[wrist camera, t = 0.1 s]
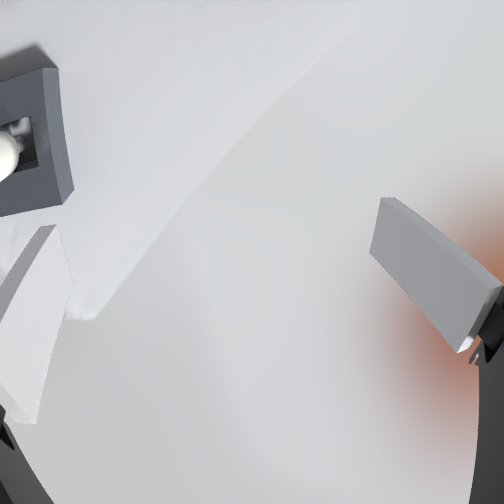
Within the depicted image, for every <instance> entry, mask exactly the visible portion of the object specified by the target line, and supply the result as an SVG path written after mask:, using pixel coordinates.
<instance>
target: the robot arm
mask: <svg viewBox="0 0 504 504" xmlns="http://www.w3.org/2000/svg"><path fill="white" fill-rule="evenodd" d="M370 254H371V255H372V256H373V257H374V258H375V259H376V260H377V261H378V262H379V263H380V264H381V265H382V267H383V268H384V269H385V270H386V271H387V272H388V273H389V274H390V275H391V276H392V277H393V279H394V280H395V281H396V282H397V283H398V284H399V285H400V286H401V287H402V289H403V290H404V291H405V292H406V293H407V294H408V296H409V297H410V298H411V299H412V300H413V301H414V302H415V304H416V305H417V306H418V307H419V308H420V309H421V311H423V313H424V314H425V315H426V316H427V318H428V319H429V320H430V321H431V322H432V324H433V325H434V326H435V327H436V329H437V330H438V331H439V332H440V333H441V335H442V336H443V337H444V338H445V340H446V341H447V342H448V343H449V345H450V346H451V347H452V348H453V350H454V351H455V352H456V353H458V352H461V351H463V350H465V349H467V348H470V346H471V345H472V343H473V341H474V339H475V338H476V336H477V334H478V335H479V337H480V338H481V339H482V340H481V341H480V343H479V345H478V347H477V348H476V350H475V351H474V353H473V354H472V356H471V357H470V359H469V364H470V363H472V362H473V360H474V358H475V357H478V359H477V361H476V362H475V365H478V366H479V425H478V440H477V451H476V461H475V469H474V476H473V483H472V488H471V494H470V500H469V504H504V286H503V284H502V283H501V282H500V281H499V280H498V279H496V278H495V277H494V276H493V275H492V274H491V273H490V272H489V271H488V270H486V269H485V268H484V267H483V266H482V265H481V264H480V263H479V262H477V261H476V260H475V259H474V258H473V257H472V256H470V255H469V254H468V253H467V252H466V251H464V250H463V249H462V248H461V247H459V246H458V245H457V244H456V243H454V242H453V241H452V240H451V239H450V238H448V237H447V236H446V235H445V234H443V233H442V232H441V231H439V230H438V229H437V228H435V227H434V226H433V225H432V224H430V223H429V222H428V221H426V220H425V219H424V218H422V217H421V216H420V215H418V214H417V213H416V212H414V211H413V210H411V209H410V208H409V207H407V206H406V205H404V204H403V203H402V202H400V201H399V200H397V199H396V198H381V200H380V206H379V211H378V216H377V221H376V226H375V231H374V235H373V240H372V244H371V248H370ZM73 287H74V281H73V278H72V275H71V272H70V269H69V266H68V262H67V259H66V256H65V253H64V249H63V246H62V242H61V239H60V235H59V232H58V228H57V224H56V225H49V226H42V227H40V228H39V229H38V230H37V232H36V233H35V235H34V236H33V237H32V239H31V240H30V242H29V243H28V245H27V246H26V247H25V249H24V250H23V252H22V253H21V255H20V256H19V258H18V259H17V261H16V262H15V264H14V266H13V267H12V269H11V270H10V272H9V273H8V275H7V277H6V278H5V280H4V282H3V283H2V285H1V287H0V504H54V503H53V501H52V500H51V498H50V497H49V496H48V494H47V493H46V491H45V490H44V488H43V487H42V485H41V483H40V482H39V480H38V479H37V477H36V476H35V474H34V472H33V471H32V469H31V467H30V466H29V464H28V462H27V461H26V459H25V457H24V455H23V453H22V451H21V450H20V448H19V446H18V444H17V442H16V440H15V438H14V436H13V434H12V433H11V430H10V428H9V427H8V425H7V424H6V423H5V422H4V416H5V412H7V413H8V414H9V415H10V416H11V417H12V419H13V420H15V422H18V423H26V424H36V423H37V417H38V412H39V406H40V402H41V397H42V393H43V388H44V384H45V380H46V375H47V371H48V367H49V363H50V359H51V356H52V352H53V348H54V345H55V342H56V338H57V335H58V332H59V328H60V325H61V322H62V319H63V316H64V313H65V310H66V307H67V304H68V301H69V298H70V295H71V292H72V290H73Z"/></svg>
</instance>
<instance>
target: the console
mask: <svg viewBox="0 0 504 504" xmlns="http://www.w3.org/2000/svg"><path fill="white" fill-rule="evenodd" d="M28 116H31V122H32V129H33V136H34V142H35V148H36V154H37V160H33V161H29V162H25V163H22V164H18V165H17V166H16V168H15V170H14V171H13V172H12V173H11V174H10V175H9V176H7V177H6V178H5V179H3V180H2V181H1V182H0V217H3V216H8V215H12V214H17V213H21V212H26V211H31V210H36V209H41V208H46V207H51V206H57V205H62V204H63V203H64V202H65V201H66V199H67V198H68V197H69V195H70V194H71V193H72V192H73V190H74V186H73V181H72V176H71V171H70V165H69V159H68V154H67V147H66V141H65V134H64V126H63V118H62V110H61V100H60V88H59V73H58V68H40V69H37V70H34V71H31V72H28V73H25V74H22V75H19V76H17V77H14V78H11V79H9V80H6V81H3V82H1V83H0V131H3V132H7V133H9V134H10V135H11V130H10V123H9V122H12V121H15V120H18V119H21V118H24V117H28Z"/></svg>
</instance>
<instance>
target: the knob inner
mask: <svg viewBox="0 0 504 504" xmlns="http://www.w3.org/2000/svg"><path fill="white" fill-rule="evenodd" d="M25 146H26V142H25V139H24V138H23V137H22V136H17V137H15V138H13V137H12V136H11V135H10V134H9V133H7V132H3V131H0V182H1V181H2V180H3V179H5V178H6V177H7V176H9V175H10V174H11V173H12V172H13V171H14V170H15V168H16V166H17V164H18V160H19V153H20V152H22V151H23V150H24V149H25Z"/></svg>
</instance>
